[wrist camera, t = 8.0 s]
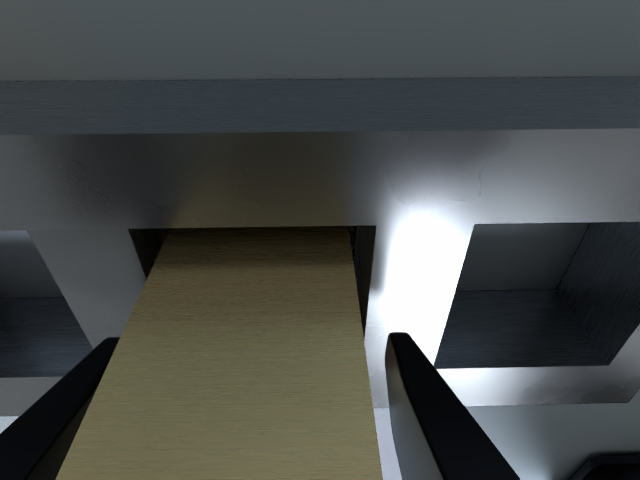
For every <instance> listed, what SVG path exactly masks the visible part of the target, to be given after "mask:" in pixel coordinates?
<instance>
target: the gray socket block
mask: <svg viewBox="0 0 640 480" xmlns="http://www.w3.org/2000/svg"><path fill="white" fill-rule="evenodd" d="M575 222H591V224H590V226H589V228H588V230H587V232H586V234H585V236H584V237H583V239H582V241H581V243H580V245H579V247H578V249H577V251H576V253H575V255H574V257H573V259H572V261H571V263H570V265H569V267H568V269H567V271H566V273H565V275H564V277H563V279H562V281H561V283H560V285H559V287H558V289H557V290H517V291H458V292H455V290H456V286H457V283H458V279H459V276H460V272H461V269H462V266H463V262H464V259H465V255H466V252H467V248H468V245H469V241H470V238H471V235H472V231H473V228H474V224H504V223H575ZM289 226H357V227H356V242H355V257H354V270H355V277H356V285H357V292H358V300H359V307H360V314H361V322H362V329H363V337H364V344H365V351H366V359H367V366H368V373H369V381H370V388H371V396H372V403H373V408H389V400H388V390H387V381H386V371H385V350H386V344H387V338H388V335H389V333H391V332H406V333H408V334H409V335H410V336H411V337H412V339H413V340H414V341H415V342H416V344H417V345H418V346H419V348H420V349H421V350H422V352H423V353H424V354H425V355H426V357H427V358H428V359H429V361H430V362H431V363H432V365H433V366H434V367H435V368H436V370H437V371H438V372H439V374H440V375H441V376H442V378H443V379H444V380H445V382H446V383H447V384H448V385H449V387H450V388H451V389H452V391H453V392H454V393H455V395H456V396H457V397H458V398H459V400H460V401H461V402H462V404H463V405H464V406H499V405H545V404H590V403H628V402H629V401H630V400H631V399H632V397H633V396H634V395H635V394H636V393H637V392H638V391H639V389H640V77H548V78H417V79H287V80H156V81H25V82H0V231H2V230H27V232H28V233H29V235H30V237H31V239H32V240H33V242H34V244H35V246H36V248H37V249H38V251H39V253H40V255H41V257H42V258H43V260H44V262H45V264H46V265H47V267H48V269H49V271H50V273H51V274H52V276H53V278H54V280H55V282H56V283H57V285H58V287H59V289H60V290H61V292H62V294H63V296H64V298H43V299H0V416H21V415H22V414H23V413H24V412H25V411H26V410H27V409H28V408H29V407H30V406H32V405H33V404H34V403H35V402H36V401H37V400H38V399H39V398H40V397H41V396H43V395H44V394H45V393H46V392H47V391H48V390H49V389H50V388H51V387H52V386H54V385H55V384H56V383H57V382H58V381H59V380H60V379H61V378H62V377H63V376H64V375H66V374H67V373H68V372H69V371H70V370H71V369H72V368H73V367H74V366H75V365H77V364H78V363H79V362H80V361H81V360H82V359H83V358H84V357H85V356H86V355H87V354H89V353H90V352H91V351H92V350H93V349H94V348H95V347H96V346H97V345H98V344H100V343H101V342H102V341H103V340H104V339H106V338H108V337H121V335H122V333H123V330H124V328H125V326H126V324H127V322H128V320H129V317H130V315H131V313H132V311H133V309H134V306H135V304H136V302H137V300H138V298H139V295H140V293H141V291H142V289H143V287H144V284H145V282H146V280H147V278H148V276H149V274H150V271H151V269H152V267H153V265H154V263H155V260H156V258H157V256H158V254H159V252H160V249H161V247H162V245H163V243H164V241H165V238H166V236H167V234H168V232H169V230H170V228H217V227H289Z"/></svg>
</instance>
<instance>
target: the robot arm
mask: <svg viewBox="0 0 640 480" xmlns="http://www.w3.org/2000/svg"><path fill="white" fill-rule="evenodd" d="M119 339H120V337H108V338H106V339H104V340H103V341H102V342H101V343H100V344H98V345H97V346H96V347H95V348H94V349H93V350H92V351H91V352H90V353H89V354H87V355H86V356H85V357H84V358H83V359H82V360H81V361H80V362H79V363H78V364H77V365H75V366H74V367H73V368H72V369H71V370H70V371H69V372H68V373H67V374H66V375H64V376H63V377H62V378H61V379H60V380H59V381H58V382H57V383H56V384H55V385H54V386H52V387H51V388H50V389H49V390H48V391H47V392H46V393H45V394H44V395H43V396H41V397H40V398H39V399H38V400H37V401H36V402H35V403H34V404H33V405H32V406H30V407H29V408H28V409H27V410H26V411H25V412H24V413H23V414H22V415H21V416H20V417H18V418H17V419H16V420H15V421H14V422H13V423H12V424H11V425H10V426H9V427H7V428H6V429H5V430H4V431H3V432H2V433H1V434H0V480H55V479H56V477H57V475H58V473H59V471H60V468H61V466H62V464H63V462H64V460H65V457H66V455H67V453H68V451H69V449H70V447H71V444H72V442H73V440H74V438H75V436H76V433H77V431H78V429H79V427H80V425H81V422H82V420H83V418H84V416H85V414H86V411H87V409H88V407H89V405H90V403H91V401H92V398H93V396H94V394H95V392H96V390H97V387H98V385H99V383H100V381H101V379H102V376H103V374H104V372H105V370H106V368H107V365H108V363H109V361H110V359H111V357H112V355H113V352H114V350H115V348H116V346H117V344H118V341H119ZM385 371H386V381H387V390H388V400H389V409H390V419H391V427H392V434H393V439H394V444H395V449H396V453H397V458H398V462H399V467H400V471H401V476H402V480H520V478H519V477H518V475H517V474H516V473H515V471H514V470H513V469H512V467H511V466H510V465H509V464H508V462H507V461H506V460H505V458H504V457H503V456H502V454H501V453H500V452H499V451H498V449H497V448H496V447H495V445H494V444H493V443H492V441H491V440H490V439H489V438H488V436H487V435H486V434H485V432H484V431H483V430H482V428H481V427H480V426H479V424H478V423H477V422H476V421H475V419H474V418H473V417H472V415H471V414H470V413H469V411H468V410H467V409H466V408H465V406H464V405H463V404H462V402H461V401H460V400H459V398H458V397H457V396H456V395H455V393H454V392H453V391H452V389H451V388H450V387H449V385H448V384H447V383H446V382H445V380H444V379H443V378H442V376H441V375H440V374H439V372H438V371H437V370H436V368H435V367H434V366H433V365H432V363H431V362H430V361H429V359H428V358H427V357H426V355H425V354H424V353H423V352H422V350H421V349H420V348H419V346H418V345H417V344H416V342H415V341H414V340H413V339H412V337H411V336H410V335H409V334H408V333H406V332H391V333H389V335H388V338H387V344H386V350H385ZM571 480H640V455H614V456H596V457H593V458H591V459H589V460H588V461H587V462H586V463H585V464H584V465H583V466H582V468H581V469H580V470H579V471H578V472H577V473H576V474H575V475H574V476H573V478H572V479H571Z"/></svg>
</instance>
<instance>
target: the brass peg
mask: <svg viewBox="0 0 640 480" xmlns="http://www.w3.org/2000/svg"><path fill="white" fill-rule="evenodd" d="M55 480H383V477H382V470H381V462H380V455H379V447H378V440H377V433H376V425H375V418H374V410H373V403H372V396H371V388H370V381H369V373H368V366H367V359H366V351H365V344H364V337H363V329H362V322H361V314H360V307H359V300H358V292H357V285H356V277H355V270H354V263H353V255H352V248H351V240H350V233H349V226H289V227H217V228H170V230H169V232H168V234H167V236H166V238H165V241H164V243H163V245H162V247H161V249H160V252H159V254H158V256H157V258H156V260H155V263H154V265H153V267H152V269H151V271H150V274H149V276H148V278H147V280H146V282H145V284H144V287H143V289H142V291H141V293H140V295H139V298H138V300H137V302H136V304H135V306H134V309H133V311H132V313H131V315H130V317H129V320H128V322H127V324H126V326H125V328H124V330H123V333H122V335H121V337H120V339H119V341H118V344H117V346H116V348H115V350H114V352H113V355H112V357H111V359H110V361H109V363H108V365H107V368H106V370H105V372H104V374H103V376H102V379H101V381H100V383H99V385H98V387H97V390H96V392H95V394H94V396H93V398H92V401H91V403H90V405H89V407H88V409H87V411H86V414H85V416H84V418H83V420H82V422H81V425H80V427H79V429H78V431H77V433H76V436H75V438H74V440H73V442H72V444H71V447H70V449H69V451H68V453H67V455H66V457H65V460H64V462H63V464H62V466H61V468H60V471H59V473H58V475H57V477H56V479H55Z"/></svg>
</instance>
